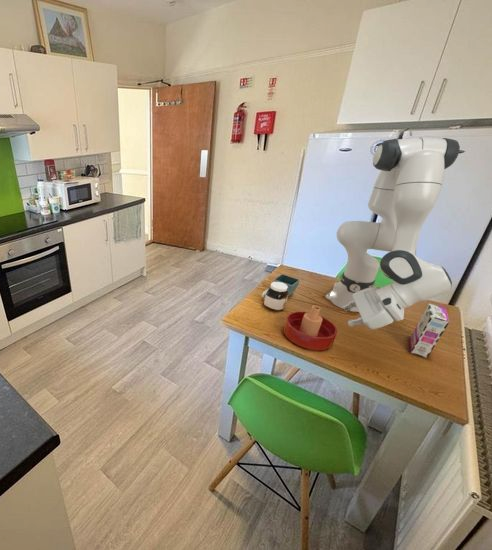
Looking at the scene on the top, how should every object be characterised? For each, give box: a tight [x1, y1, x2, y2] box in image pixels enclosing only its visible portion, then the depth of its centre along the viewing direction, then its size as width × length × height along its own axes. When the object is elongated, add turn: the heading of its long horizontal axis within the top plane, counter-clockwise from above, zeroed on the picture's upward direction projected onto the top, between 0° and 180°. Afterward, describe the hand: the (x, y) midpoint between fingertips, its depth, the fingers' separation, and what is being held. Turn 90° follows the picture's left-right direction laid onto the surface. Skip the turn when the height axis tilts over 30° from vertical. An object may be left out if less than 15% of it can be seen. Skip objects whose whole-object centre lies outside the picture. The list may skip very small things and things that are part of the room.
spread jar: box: [261, 281, 289, 312], centre depth 137 cm, size 12×11×12 cm
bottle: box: [299, 305, 323, 337], centre depth 115 cm, size 6×6×14 cm
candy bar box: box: [409, 303, 450, 359], centre depth 107 cm, size 11×5×16 cm, turn 141°
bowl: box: [283, 311, 338, 351], centre depth 117 cm, size 17×17×6 cm
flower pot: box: [273, 273, 301, 298], centre depth 144 cm, size 9×9×9 cm
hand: (346, 316), depth 109 cm, fingers open, 8 cm apart
